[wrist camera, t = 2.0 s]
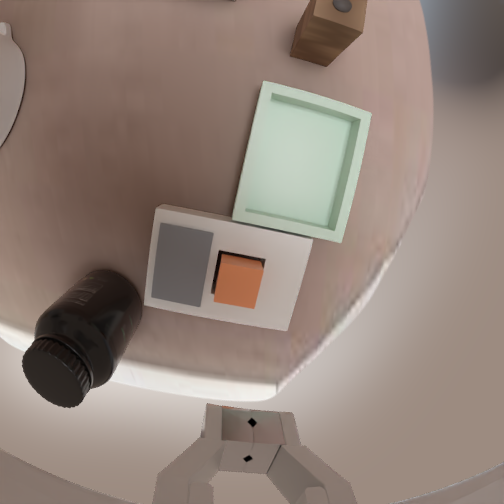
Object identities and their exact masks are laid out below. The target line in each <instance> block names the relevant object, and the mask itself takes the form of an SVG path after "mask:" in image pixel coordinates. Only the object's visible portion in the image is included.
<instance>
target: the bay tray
mask: <svg viewBox="0 0 504 504" xmlns="http://www.w3.org/2000/svg"><path fill="white" fill-rule="evenodd" d="M371 115H372V113H370V112H367V111H364V110H362V109H359V108H356V107H353V106H351V105H348V104H345V103H342V102H339V101H336V100H333V99H330V98H327V97H323V96H320V95H317V94H313V93H310V92H307V91H303V90H299V89H296V88H292V87H288V86H284V85H280V84H276V83H272V82H268V81H263V83H262V86H261V89H260V93H259V97H258V101H257V105H256V110H255V114H254V118H253V122H252V127H251V131H250V135H249V140H248V144H247V148H246V153H245V157H244V162H243V166H242V171H241V175H240V180H239V184H238V189H237V194H236V198H235V203H234V208H233V212H232V220H235V221H240V222H245V223H250V224H255V225H259V226H264V227H269V228H274V229H279V230H283V231H288V232H293V233H297V234H302V235H306V236H311V237H316V238H320V239H325V240H329V241H334V242H338V243H341V242H342V239H343V235H344V232H345V228H346V224H347V221H348V217H349V213H350V209H351V205H352V201H353V197H354V193H355V189H356V185H357V181H358V176H359V172H360V168H361V163H362V159H363V154H364V150H365V145H366V140H367V135H368V130H369V125H370V120H371Z"/></svg>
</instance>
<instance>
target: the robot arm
mask: <svg viewBox="0 0 504 504" xmlns="http://www.w3.org/2000/svg"><path fill="white" fill-rule="evenodd" d="M24 82H25V63H24V57H23V54H22V52H21V50H20V48H19V47H18V46H17V44H16V43H15V42H14V41H13V39H12V34H11V27H10V24H8V23H5V22H1V23H0V146H1V145H2V143H3V142H4V140H5V139H6V137H7V135H8V133H9V131H10V129H11V127H12V125H13V123H14V120H15V118H16V115H17V112H18V109H19V106H20V102H21V99H22V94H23V89H24ZM218 471H231V472H242V471H243V472H246V473H258V474H267V476H268V478H269V479H270V480H271V481H272V482H273V484H274V485H275V486H276V487H277V489H278V490H279V491H280V492H281V494H282V495H283V496H284V497H285V498H286V500H287V501H288V502H289V503H290V504H357V502H356V499H355V496H354V493H353V490H352V487H351V485H350V483H349V482H348V481H347V480H346V479H344V478H343V477H342V476H341V475H339V474H338V473H337V472H336V471H334V470H333V469H332V468H331V467H330V466H328V465H327V464H326V463H325V462H324V461H322V460H321V459H320V458H319V457H318V456H317V455H315V454H314V453H313V452H312V451H311V450H310V449H309V448H307V447H306V446H301V442H300V439H299V434H298V430H297V426H296V423H295V419H294V415H293V413H292V412H273V411H261V410H248V409H241V408H234V407H228V406H219V405H213V404H208V403H207V405H206V409H205V413H204V419H203V423H202V431H201V437H200V438H199V439H197V440H196V441H195V442H194V443H193V444H192V445H191V446H190V447H189V448H188V449H186V450H185V451H184V452H183V453H182V454H181V455H180V456H178V457H177V458H176V459H175V460H174V461H173V462H171V463H170V464H169V465H168V466H167V467H166V468H165V469H163V470H162V471H161V472H160V473H158V476H157V482H156V486H155V492H154V498H153V503H152V504H213V487H212V486H211V485H210V484H209V481H210V480H211V479H212V478H213V477H214V476H215V474H216V473H217V472H218ZM0 504H141V503H136V502H133V501H129V500H125V499H121V498H117V497H114V496H111V495H107V494H104V493H101V492H98V491H95V490H92V489H89V488H86V487H83V486H80V485H78V484H75V483H72V482H70V481H67V480H64V479H62V478H60V477H57V476H55V475H52V474H50V473H48V472H46V471H44V470H41V469H39V468H37V467H35V466H33V465H31V464H29V463H27V462H25V461H23V460H21V459H19V458H17V457H15V456H13V455H12V454H10V453H8V452H6V451H4V450H3V449H1V448H0ZM390 504H504V462H502V463H500V464H499V465H497V466H494V467H492V468H490V469H488V470H486V471H484V472H482V473H480V474H477V475H475V476H472V477H470V478H468V479H465V480H463V481H460V482H458V483H455V484H452V485H450V486H447V487H444V488H441V489H439V490H436V491H433V492H430V493H427V494H423V495H420V496H417V497H413V498H409V499H406V500H402V501H398V502H394V503H390Z"/></svg>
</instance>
